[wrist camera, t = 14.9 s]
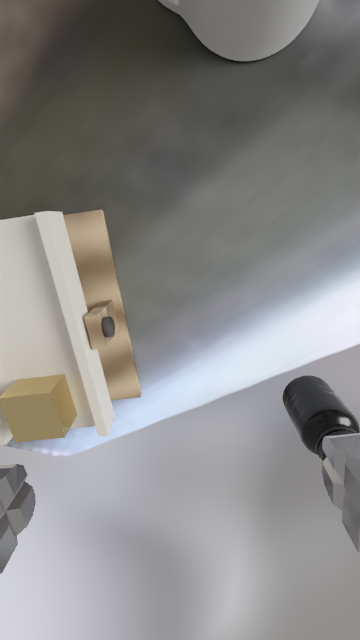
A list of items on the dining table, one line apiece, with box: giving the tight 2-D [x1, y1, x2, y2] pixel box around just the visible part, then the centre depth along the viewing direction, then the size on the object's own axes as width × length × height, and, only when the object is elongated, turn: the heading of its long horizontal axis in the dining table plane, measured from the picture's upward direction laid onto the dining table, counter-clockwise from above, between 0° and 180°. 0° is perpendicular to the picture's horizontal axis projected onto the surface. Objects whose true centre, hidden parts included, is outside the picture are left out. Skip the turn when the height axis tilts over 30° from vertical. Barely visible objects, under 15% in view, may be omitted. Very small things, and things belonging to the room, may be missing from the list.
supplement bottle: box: [283, 376, 360, 461], centre depth 37 cm, size 7×7×12 cm
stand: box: [63, 210, 141, 400], centre depth 36 cm, size 26×20×8 cm
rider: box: [0, 374, 77, 442], centre depth 34 cm, size 6×6×4 cm
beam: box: [0, 211, 115, 445], centre depth 33 cm, size 26×14×4 cm, turn 8°
